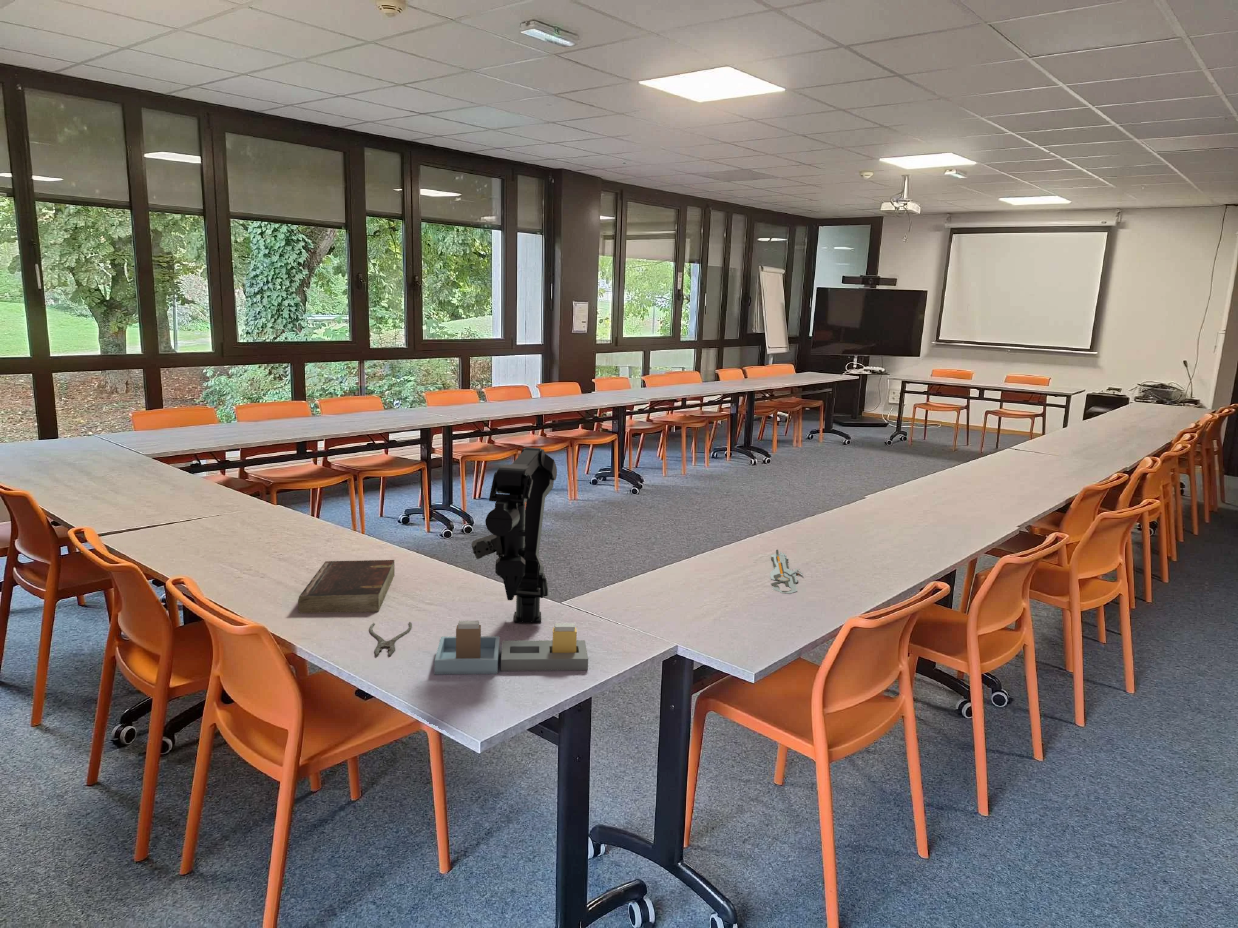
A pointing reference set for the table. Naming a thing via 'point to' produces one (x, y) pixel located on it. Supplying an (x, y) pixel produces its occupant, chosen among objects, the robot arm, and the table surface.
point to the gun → (783, 573)
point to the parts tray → (482, 665)
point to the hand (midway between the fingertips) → (510, 592)
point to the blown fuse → (468, 640)
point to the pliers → (387, 644)
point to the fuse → (564, 638)
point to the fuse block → (541, 656)
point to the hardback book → (347, 587)
